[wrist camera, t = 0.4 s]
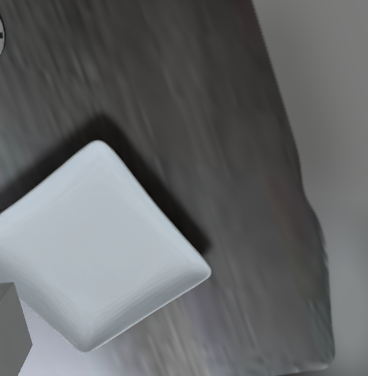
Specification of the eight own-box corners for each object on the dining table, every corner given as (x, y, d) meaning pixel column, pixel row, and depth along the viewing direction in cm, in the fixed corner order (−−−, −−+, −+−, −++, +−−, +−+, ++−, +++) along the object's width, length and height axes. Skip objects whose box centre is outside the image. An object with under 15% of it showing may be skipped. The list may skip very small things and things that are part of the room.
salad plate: (213, 259, 43) (217, 275, 40) (89, 339, 47) (83, 359, 44) (105, 128, 37) (99, 134, 34) (-30, 232, 40) (-47, 247, 37)
